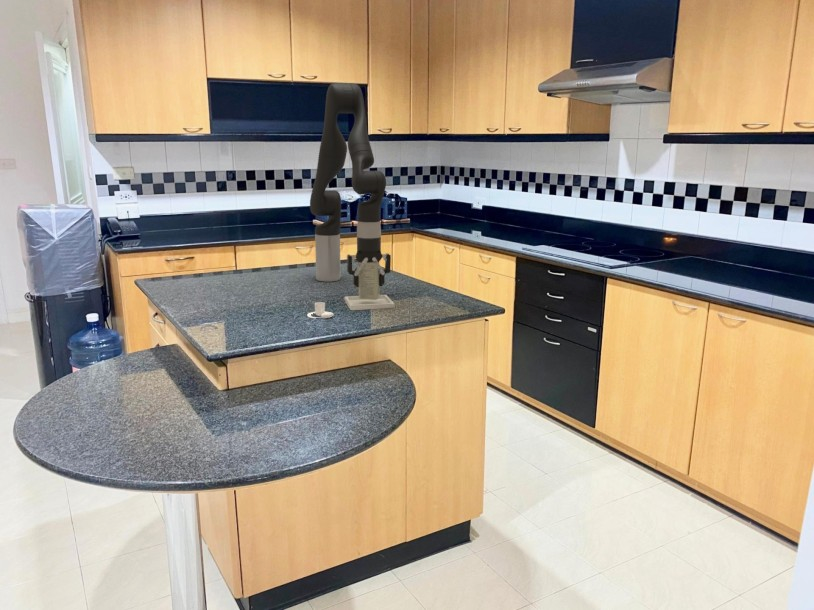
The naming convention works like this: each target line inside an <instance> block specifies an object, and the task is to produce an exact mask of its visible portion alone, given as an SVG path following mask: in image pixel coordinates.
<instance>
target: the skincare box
mask: <svg viewBox="0 0 814 610" xmlns="http://www.w3.org/2000/svg"><path fill="white" fill-rule="evenodd" d="M357 264H358V266H359V265H360V264H361V263H360V262H358V261H357ZM379 274H380V272H379V270H378V262H366V263H365V265H364V267H363V268H362V270H361V271H360V272H359V274H358V276H359V287H357V289H358V296H359V299H368V300H377V299H378V298H379V297H380V295H381V291H380V289H381V288H380V287H381V286H380V276H379Z"/></svg>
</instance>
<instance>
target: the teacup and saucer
mask: <svg viewBox="0 0 814 610" xmlns="http://www.w3.org/2000/svg"><path fill="white" fill-rule="evenodd" d="M325 309H326V302H322V301H321V302H320V301H318V302H317V301H316V302H315V303H314V311H312V312H308V313H307V314H306V315H307V317H308V318H311V319H316V318H317V317H320V318H323V319H329V318H332V317H333V316H335V315H334V313H333V312H330V311H325ZM313 313H314V314H315V315H316V317H314V316H312V315H314V314H313ZM311 314H312V315H311Z"/></svg>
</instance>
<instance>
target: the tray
mask: <svg viewBox="0 0 814 610" xmlns="http://www.w3.org/2000/svg"><path fill="white" fill-rule="evenodd" d="M344 302H345V304H346V305H347V307H348V309H349V310H350V311H361V310H362V311H363V310H366V311H367V310H382V309H383V310H384V309H387V310H388V309H395V303H394V302H393V300H392V299H391V298H390V297H389V296H388V295H387V294H380V297H379V298H378V299H377V300H368V299H359V295H351V296H344Z"/></svg>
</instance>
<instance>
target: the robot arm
mask: <svg viewBox="0 0 814 610" xmlns="http://www.w3.org/2000/svg"><path fill="white" fill-rule="evenodd" d="M364 99H365V98H364V95H363V92H362V88H361V87H360V85H358V84H356V83H345V82H344V83H343V82H338V83H337V82H334V83H330V84H329V86H328V88H327V91H326V98H325V109H324V119H323V120H324V122H323V128H322V130H323V131H322V136H321V141H320V145H319V151H318V152H319V153H318V159H317V166H316V172H315V178H314V182H313V187H312V190H311V193H310V194H311V195H310V200H309V209H310V213H311V214H312V215H314V216H316V217H317V216H318V217H327V216H328V219H327V220H326V221H324V222H322V223H320V224H318V225H316V226H315V228H314V235H315V236H314V237H315V238H314V240H315V241H314V243H315V244H314V245H315V280H317V282H319V281H320V282H326V283H327V282H337V281H340V280H341V278H342V277H341V217H342V216H341V215H342V214H341V213H342V197H341V194H340V192H339V191H338V190H334V189H333V190H332V189H329V190H328V189H327V187H328V185H329V184H330V183H331V182H332V180H334V178H335V177H337V175H338V174H339V173H340V172H341V171H342V170H343V167H344V166H345V162H346V157H347V154H348V153H349V157H350V161H351V172H352V174H351V187H352V189H353V191H354V192H355V193H357V194H358V195H371V196H370V198H369V199H368V200H365V201H361V202H359V203H358V205H357V225H356V253H355V254H347V255H346V267H347V268H346V269H347V270H346V271H347V273H348V274H349V275H351V276H352V277H353V286H355V288H357V289H358V287H359V276H358V274H359V272H360V271H361V270H362V268H363V267H364V265H365V263H366V262H378V270H379V276H380V287H383V285H385V275H386V274H389V273H391V266H392V265H391V259H392V255H391V254H390V253H388V252H387V253H382V250H381V249H382V247H381V246H382V227H381V226H382V225H381V208H382V207H381V205H382V203H383V198H384V195H385V191H386V187H387V179H386V176H385V174H384V173H383V172H382V171H381V170H367V169H369V168H372V166H373V165H374V163H375V158H374V154H373V150H372V146H371V143H370V137H369V132H368V128H367V127H368V126H367V125H368V124H367V118H366V117H367V116H366V107H365V100H364ZM339 114H353V117H354V123H353V125H352V129H351V130H350V133H349V136H348V139H347V142H346V140H345V137H344V136H343V134H342V132H341V131H340V127H339V125H338V115H339ZM347 152H348V153H347ZM326 189H327V190H326ZM355 259H356V260H357V264H356V266H355V268H354V270H353V263H354V262H355ZM382 259H383V260H384V262H385V263H384V268H383V267H382V266H381V264H380V262H381V260H382ZM358 262H360V263H361V264H360V265H359V266H358Z"/></svg>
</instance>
